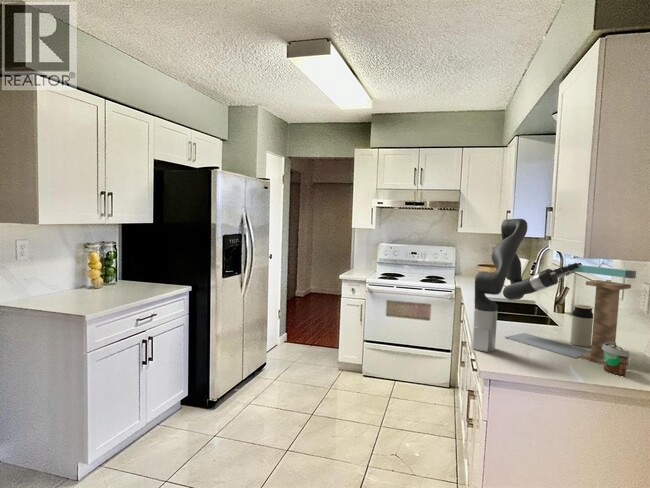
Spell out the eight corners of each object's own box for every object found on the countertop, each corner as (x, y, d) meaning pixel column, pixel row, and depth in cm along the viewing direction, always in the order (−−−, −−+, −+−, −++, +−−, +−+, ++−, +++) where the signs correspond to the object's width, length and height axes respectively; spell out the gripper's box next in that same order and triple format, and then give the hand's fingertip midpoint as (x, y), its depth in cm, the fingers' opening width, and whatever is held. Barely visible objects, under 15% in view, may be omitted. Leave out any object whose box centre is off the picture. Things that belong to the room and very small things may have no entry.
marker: (635, 278, 157) (636, 270, 156) (632, 278, 155) (632, 271, 155) (570, 270, 177) (571, 264, 177) (567, 270, 175) (567, 264, 175)
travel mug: (595, 347, 184) (598, 308, 182) (579, 347, 182) (582, 308, 181) (581, 341, 191) (584, 304, 190) (566, 342, 190) (569, 304, 189)
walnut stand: (625, 363, 163) (631, 284, 161) (612, 367, 157) (618, 286, 155) (592, 354, 173) (598, 280, 171) (579, 358, 167) (585, 281, 165)
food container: (595, 364, 160) (597, 339, 159) (613, 366, 158) (615, 341, 158) (607, 376, 148) (609, 349, 148) (626, 378, 146) (629, 351, 146)
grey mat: (594, 352, 175) (594, 352, 175) (575, 358, 167) (575, 357, 167) (524, 333, 202) (524, 332, 202) (504, 337, 194) (504, 336, 194)
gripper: (555, 286, 188) (591, 272, 175) (538, 288, 181) (575, 273, 167) (548, 271, 191) (583, 256, 178) (531, 272, 183) (566, 257, 170)
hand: (579, 264), depth 173 cm, fingers closed on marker, 2 cm apart
